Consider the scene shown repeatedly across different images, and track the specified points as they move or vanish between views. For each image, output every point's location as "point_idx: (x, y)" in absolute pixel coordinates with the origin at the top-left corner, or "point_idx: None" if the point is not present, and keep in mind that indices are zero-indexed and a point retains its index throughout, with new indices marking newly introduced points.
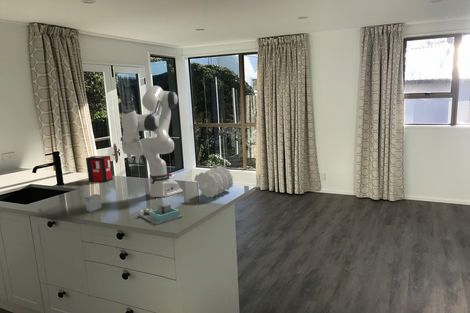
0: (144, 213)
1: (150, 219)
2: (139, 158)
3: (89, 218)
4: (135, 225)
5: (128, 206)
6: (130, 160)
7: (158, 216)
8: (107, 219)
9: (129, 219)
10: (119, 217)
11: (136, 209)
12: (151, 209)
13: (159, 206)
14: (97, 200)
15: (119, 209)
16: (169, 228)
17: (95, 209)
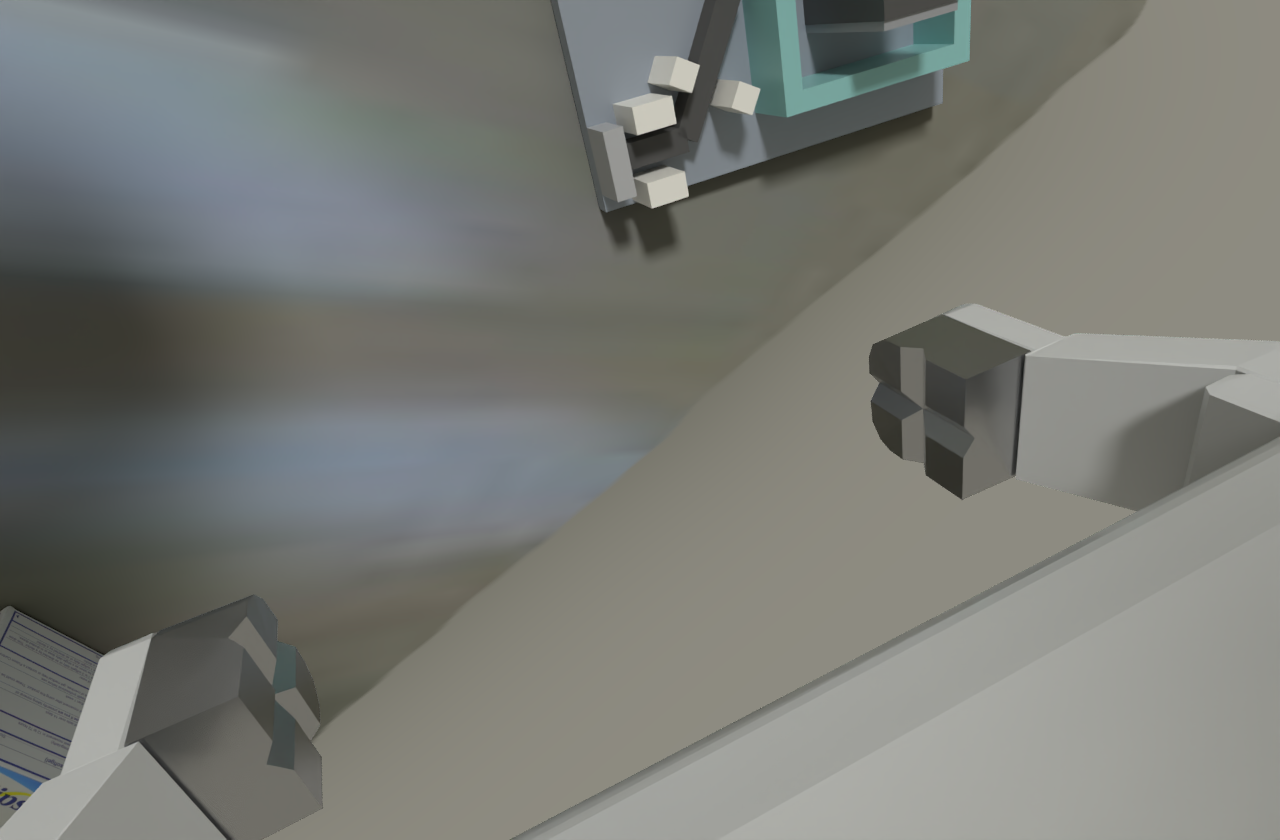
0: (663, 157)
1: (824, 131)
2: (1174, 345)
3: (396, 645)
4: (819, 275)
5: (81, 283)
6: (294, 689)
7: (942, 66)
8: (521, 497)
9: (642, 310)
10: (524, 397)
11: (309, 197)
12: (695, 70)
13: (916, 9)
14: (28, 712)
15: (195, 399)
16: (1056, 23)
17: (98, 657)
